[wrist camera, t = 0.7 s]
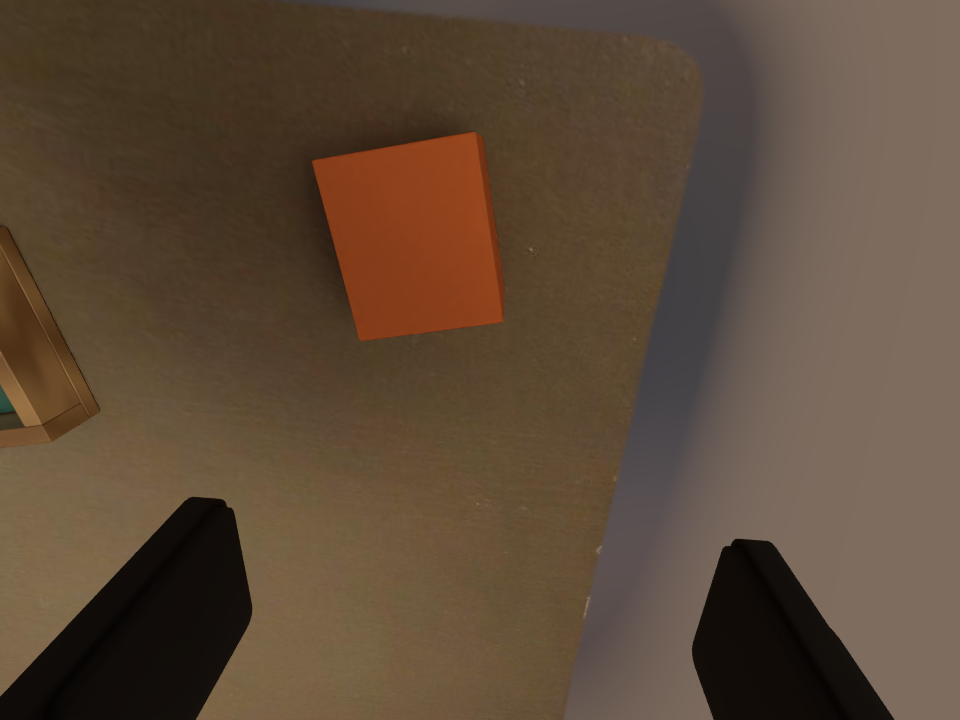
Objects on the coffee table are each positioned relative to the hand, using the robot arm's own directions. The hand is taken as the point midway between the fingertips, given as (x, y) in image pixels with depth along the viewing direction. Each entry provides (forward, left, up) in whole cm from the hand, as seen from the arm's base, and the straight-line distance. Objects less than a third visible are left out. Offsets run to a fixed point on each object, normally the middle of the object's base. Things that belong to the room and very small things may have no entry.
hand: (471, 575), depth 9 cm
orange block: (-5, -2, -16) cm, 17 cm away
